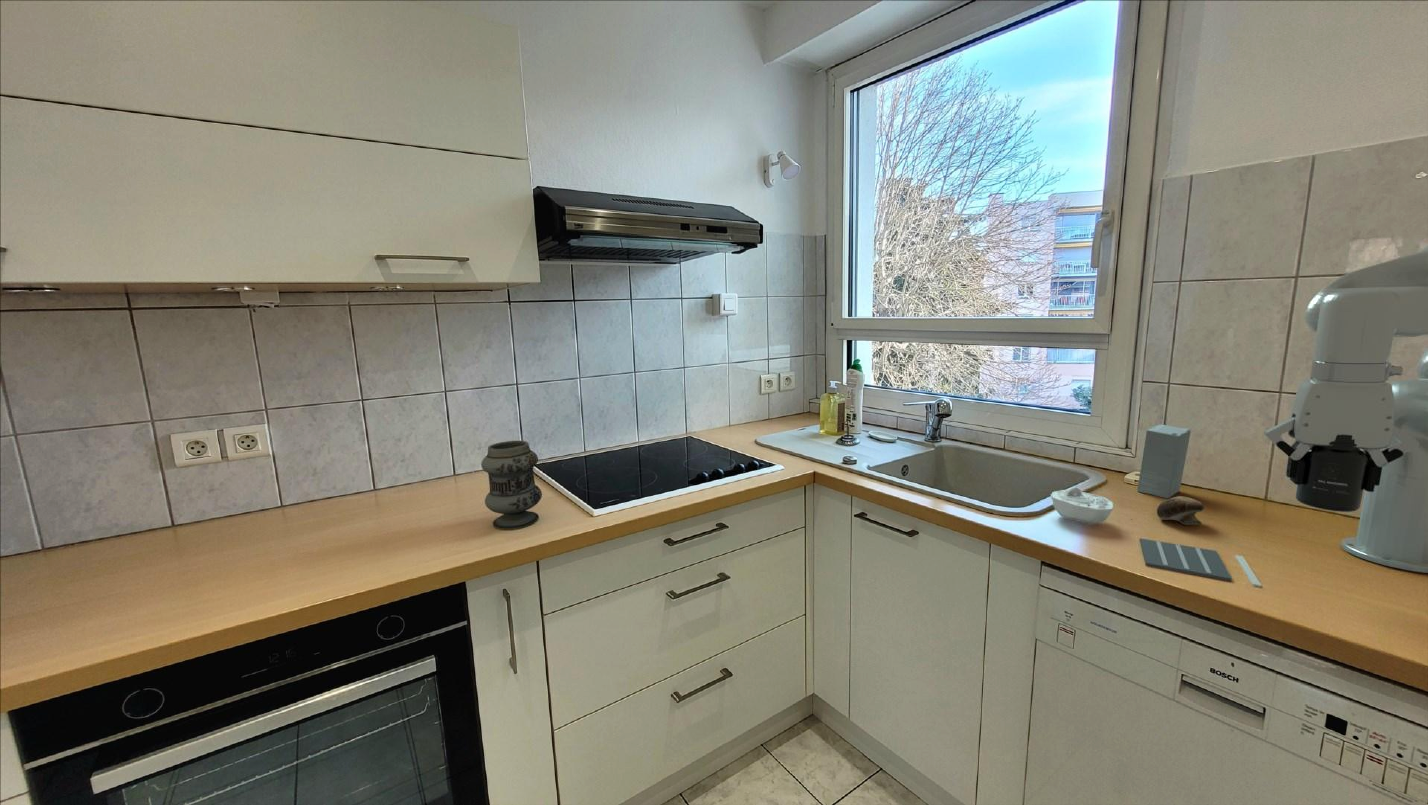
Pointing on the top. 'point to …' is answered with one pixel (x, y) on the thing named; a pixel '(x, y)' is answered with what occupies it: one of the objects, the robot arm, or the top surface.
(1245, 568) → the strip
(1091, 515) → the cell model
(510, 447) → the apothecary jar
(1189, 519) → the mushroom
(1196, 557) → the mat
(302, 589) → the top surface
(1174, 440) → the skincare box
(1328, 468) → the supplement bottle
